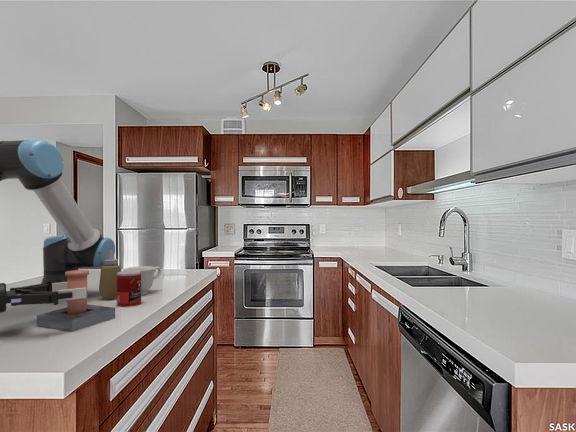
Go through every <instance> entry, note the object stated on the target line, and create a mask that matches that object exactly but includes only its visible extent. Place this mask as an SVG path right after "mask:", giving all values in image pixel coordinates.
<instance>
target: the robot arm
mask: <svg viewBox="0 0 576 432" xmlns="http://www.w3.org/2000/svg"><path fill="white" fill-rule="evenodd" d="M63 158H64V156H63V155H62V153H61V151H60V150H59V148H57V147H56V146H55V145H54V144H53V143H51V142H49V141H46V140H43V139H42V140H41V139H34V138H33V139H31V138H29V139H22V140H1V141H0V182H1V181H5V180H8V179H11V180H12V179H13V180H15V179H17V180H18V181H19V182H20V183H21V184H22V186H23V187H24V189H26V190H28V191H32V192H34V193H35V195H36V196H37V198H38V200H39V201H40V202H41V203H42V205H43V207H45V209H46V210H47V212H48V213H49V215H50V216H51V217H52V219H53V220H54V222H55V223H56V224H57V226H58V227H59V229H60V230H61V231H62V233H63V235H61V234H60V235H54V236H48V237H46V238H45V239H44V240H43V247H42V254H43V255H42V257H43V258H42V260H43V262H42V264H43V277H42V279H41V282H40V283H38V284H31V285H26V286H17V287H10V288H9V290H7V284H6V283H4V282H1V283H0V313H4V312H6V311H7V304H10V306H11V307H15V306H27V305H29V306H31V305H49V304H51V305H55V306H57V305H59V302H62V301H67V300H72V299H80V298H86V287H85V288H76V289H67V276H65V272H67V271H74V270H79V269H95V270H97V269H101V267H102V266H104V260H107V257H108V253H109V250H113V253H114V256H115V255H116V245H115V244H116V243H115V242H114V240H113V239H112V238H109V237H103V235H102V234H101V231H99V229H97V228H93V227H92V226H91V224H90V223H89V221H88V219H87V218H86V216H85V215H84V213H83V212H82V210H81V209H80V207H79V206H78V205H79V204H77V202H76V200H75V199H74V198H73V196H72V194H71V192H70V191H69V189H68V188H67V187H66V184H65V183H64V182H63V180H62V177H63V174H64V172H63V170H64V165H65V164H64V163H63V162H64V159H63Z"/></svg>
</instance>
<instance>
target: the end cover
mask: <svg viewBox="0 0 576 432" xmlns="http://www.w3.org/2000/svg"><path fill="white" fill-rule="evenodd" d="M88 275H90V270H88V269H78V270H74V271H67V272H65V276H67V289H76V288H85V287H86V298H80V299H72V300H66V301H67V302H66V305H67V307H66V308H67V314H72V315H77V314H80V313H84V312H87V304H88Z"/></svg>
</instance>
